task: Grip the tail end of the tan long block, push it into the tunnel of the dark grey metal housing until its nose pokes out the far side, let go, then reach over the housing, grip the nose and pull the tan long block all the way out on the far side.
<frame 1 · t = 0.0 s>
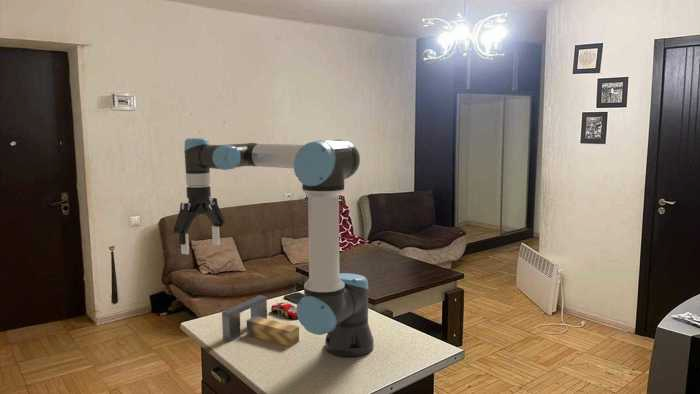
hand: (201, 249, 172), 28 cm above the table, tool pointing down, fingers open, 13 cm apart
tan long block: (272, 338, 170), on the table
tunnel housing: (246, 330, 175), on the table
race car: (286, 315, 190), on the table
phone: (301, 301, 205), on the table
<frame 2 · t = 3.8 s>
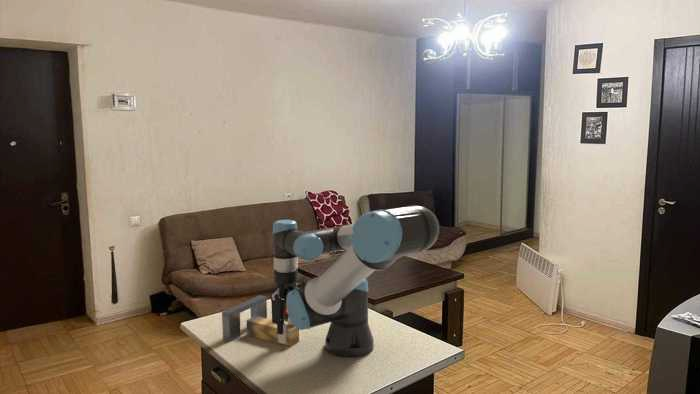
hand: (287, 339, 166), 1 cm above the table, tool pointing down, fingers closed on tan long block, 4 cm apart
tan long block: (272, 337, 170), on the table, touching gripper
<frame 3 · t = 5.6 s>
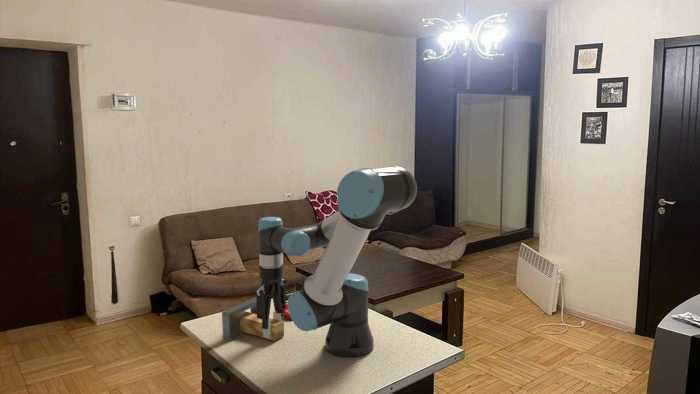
hand: (272, 334, 170), 1 cm above the table, tool pointing down, fingers closed on tan long block, 4 cm apart
tan long block: (258, 332, 173), on the table, touching gripper
when the fingers open (1 cm above the table, at t = 7.2 s): tan long block stays where it is, on the table.
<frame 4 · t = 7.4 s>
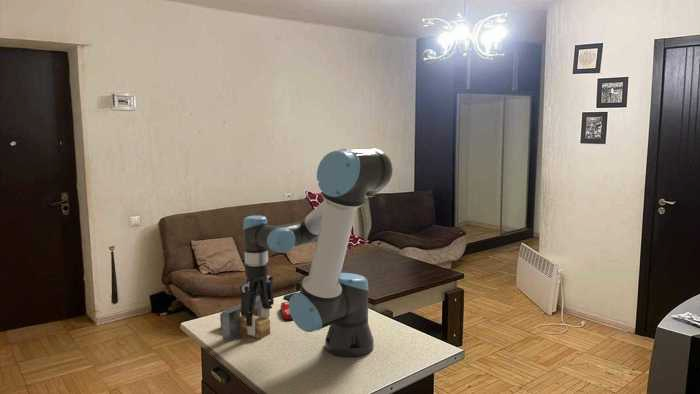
hand: (258, 330, 172), 1 cm above the table, tool pointing down, fingers open, 6 cm apart
tan long block: (245, 330, 176), on the table
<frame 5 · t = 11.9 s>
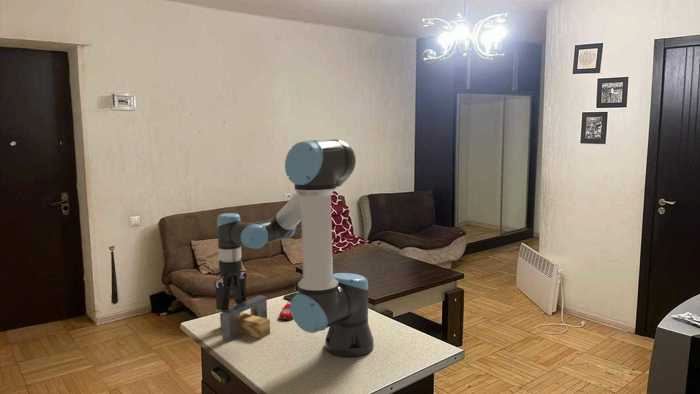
hand: (232, 325, 178), 1 cm above the table, tool pointing down, fingers closed on tan long block, 5 cm apart
tan long block: (245, 330, 176), on the table, touching gripper
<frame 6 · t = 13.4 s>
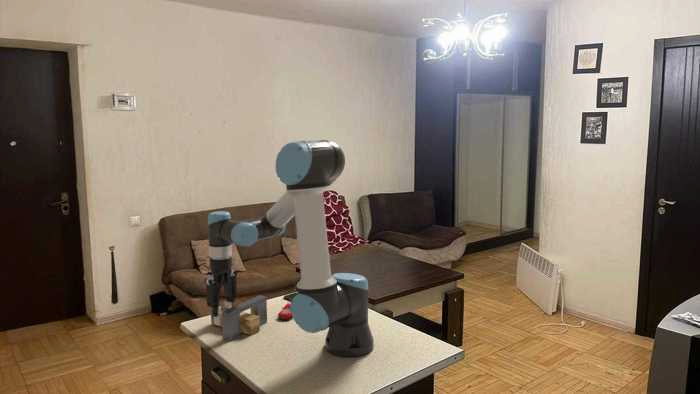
hand: (223, 321, 181), 1 cm above the table, tool pointing down, fingers closed on tan long block, 5 cm apart
tan long block: (235, 327, 178), on the table, touching gripper
when the fingers open (1 cm above the table, at t = 15.2 s): tan long block stays where it is, on the table.
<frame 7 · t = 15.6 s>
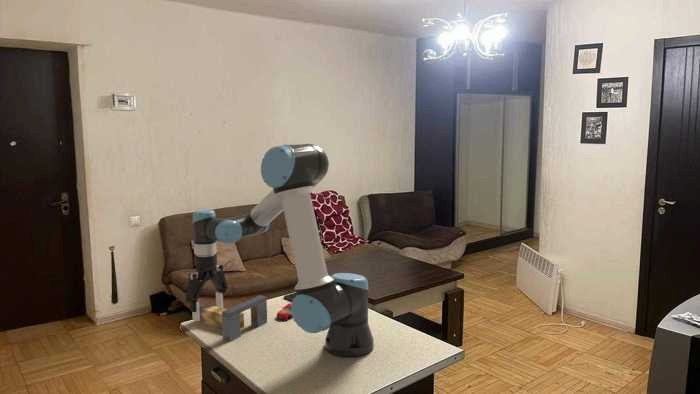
hand: (208, 314, 184), 2 cm above the table, tool pointing down, fingers open, 10 cm apart
tan long block: (220, 324, 181), on the table
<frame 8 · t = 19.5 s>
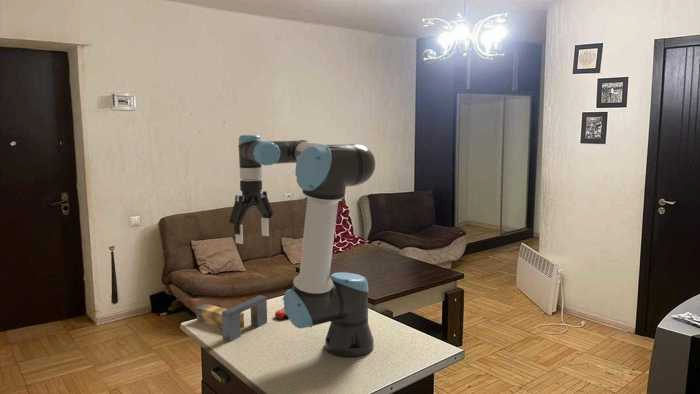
hand: (252, 239, 183), 29 cm above the table, tool pointing down, fingers open, 13 cm apart
at the end: tan long block inside the target area (2.1 cm from its centre), on the table; tan long block touching table; the gripper is holding nothing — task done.
